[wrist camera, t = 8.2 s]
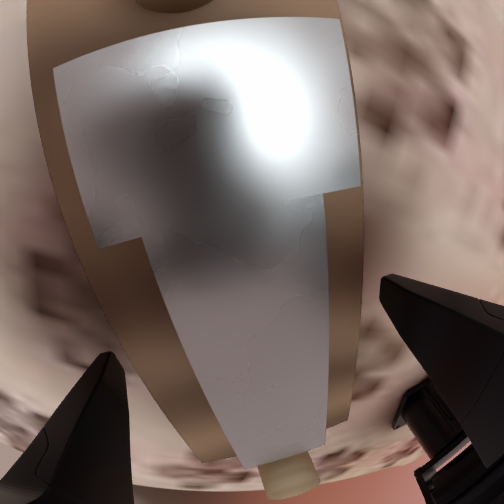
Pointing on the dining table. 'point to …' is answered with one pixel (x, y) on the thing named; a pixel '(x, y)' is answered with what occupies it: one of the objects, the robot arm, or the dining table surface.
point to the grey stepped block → (226, 202)
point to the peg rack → (133, 251)
